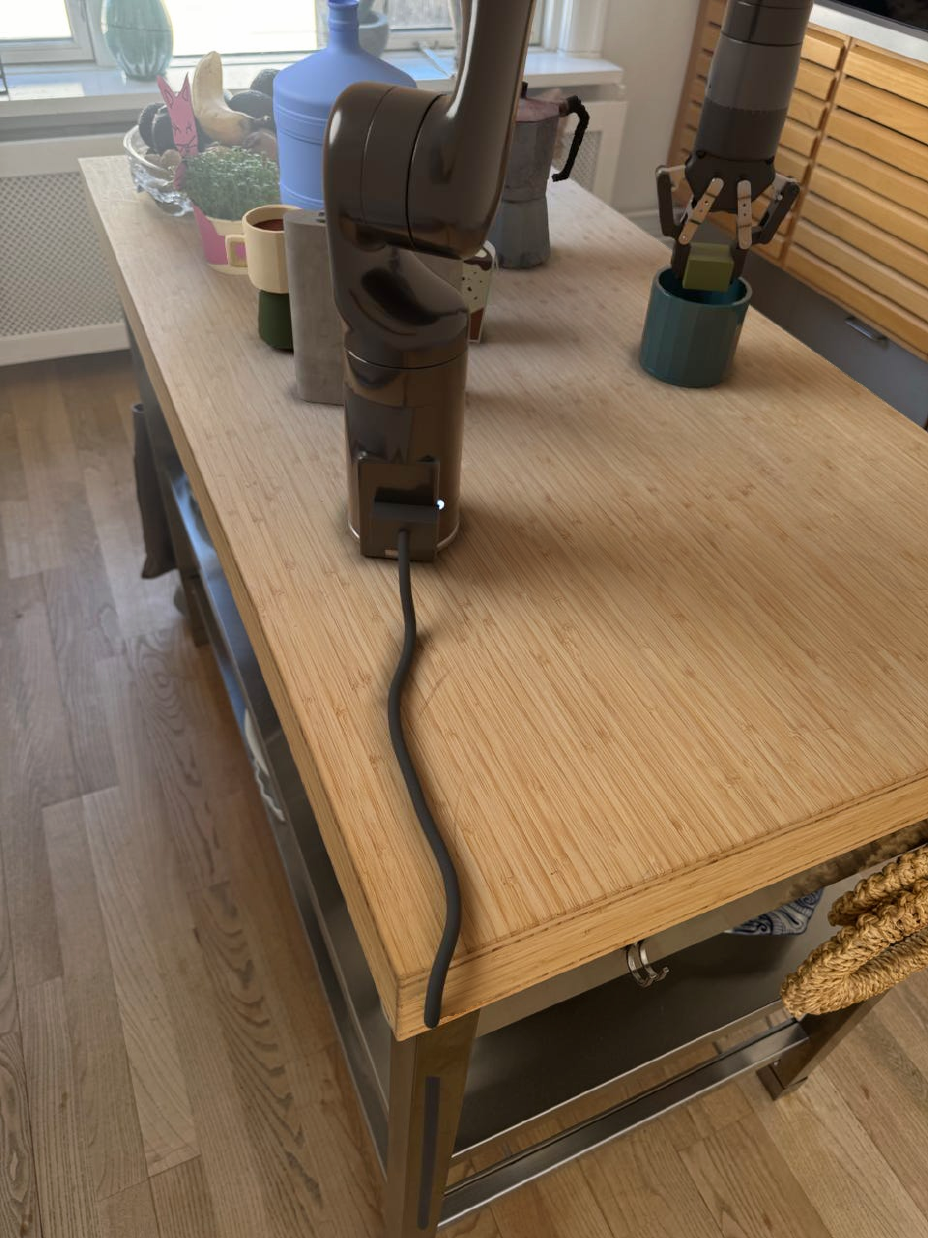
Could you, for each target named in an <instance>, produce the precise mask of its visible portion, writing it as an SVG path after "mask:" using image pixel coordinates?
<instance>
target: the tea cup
mask: <svg viewBox="0 0 928 1238" xmlns="http://www.w3.org/2000/svg"><path fill="white" fill-rule="evenodd" d="M752 296H753V289H752V287H751V284H750V283H749V282H748V281H747V280H746V279H745V278H744V277H742V276H740V277H739V279H734V281H733V284H729V286H728V290H727V292H720V291H707V290H695V289H684V288H683V284H682V280H676V277H675V274H672V269H671V264H670V265H667V266H663V267H662V268H660V269H659V270H657V271H656V273H655V274H654V276H653V278H652V283H651V288H650V293H649V298H648V301H647V302H648V303H647V307H646V313H645V317H644V322H643V328H642V332H641V337H640V343H639V347H638V354H637V360H638V364H639V366H640V367H641V369H642V370H643V371H644V372H646V374H648V375H649V376H651V377H653V378H654V379H656V380H658V381H661V382H663V383H667V384H670V385H673V386H678V387H684V388H707V387H712V386H715V385H719V384H720V383H723V382H725V380H726V379H727V378H728V377H729V376H730V373H731V369H732V367H733V364H734V361H735V356H736V354H737V353H736V352H737V349H738V347H739V346H738V345H739V342H740V338H741V335H742V331H743V328H744V323H745V320H746V317H747V313H748V311H749V307H750V303H751V300H752Z"/></svg>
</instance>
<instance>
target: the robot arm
mask: <svg viewBox="0 0 928 1238" xmlns="http://www.w3.org/2000/svg"><path fill="white" fill-rule="evenodd" d="M537 1H538V0H459V7H460V16H461V19H460V20H461V39H460V40H461V41H460V53H459V63H458V68H457V69H458V70H457V74H456V80H455V85H454V88H453V91H452V94H448V93H444V92H438V91H433V90H427V89H420V88H417V89H416V88H411V87H405V86H399V85H393V84H388V83H382V82H374V81H359V82H355V83H353V84H351V85H349V86H348V87H346V88H345V89H344V90H343V91H342V92H341V93H340V94H339V96H338V97H337V99H336V101H335V103H334V104H333V106H332V109H331V111H330V114H329V117H328V121H327V124H326V128H325V133H324V141H323V150H322V193H323V206H324V216H325V225H326V234H327V243H328V252H329V262H330V273H331V287H332V296H333V302H334V306H335V309H336V312H337V315H338V317H339V319H340V324H341V345H342V369H343V397H344V405H343V416H344V417H343V420H344V421H343V422H344V441H345V442H344V443H345V445H344V446H345V463H346V464H345V467H346V488H347V507H348V510H347V528H348V532H349V534H350V536H351V538H352V539H353V541H354V542H355V543H357V545H359V546H358V547H359V555H360V556H364V557H375V558H387V559H396V560H397V566H398V567H397V568H398V570H397V571H398V584H399V585H398V587H399V596H400V603H401V609H402V615H403V621H404V622H403V623H404V640H403V647H402V652H401V655H400V658H399V662H398V665H397V666H396V670H395V672H394V674H393V676H392V677H393V678H392V680H391V683H390V686H389V689H388V695H387V722H388V723H387V724H388V730H389V735H390V740H391V744H392V747H393V751H394V754H395V757H396V760H397V762H398V766H399V768H400V771H401V774H402V777H403V780H404V782H405V786H406V788H407V791H408V795H409V798H410V801H411V804H412V807H413V810H414V812H415V815H416V818H417V821H418V822H419V825H420V827H421V829H422V831H423V833H424V836H425V838H426V840H427V842H428V844H429V846H430V848H431V850H432V853H433V855H434V858H435V860H436V863H437V865H438V868H439V871H440V875H441V879H442V882H443V886H444V887H443V888H444V893H445V904H446V913H445V924H444V928H443V933H442V937H441V939H440V943H439V946H438V949H437V952H436V955H435V958H434V960H433V963H432V967H431V969H430V974H429V978H428V982H427V987H426V993H425V1000H424V1008H423V1009H424V1010H423V1024H424V1025H425V1026H426V1028H427V1029H431V1030H435V1028H437V1027H438V1026H439V1023H440V1021H441V1011H442V1002H443V994H444V988H445V983H446V979H447V976H448V972H449V969H450V966H451V962H452V960H453V956H454V953H455V950H456V948H457V944H458V941H459V940H458V939H459V936H460V931H461V925H462V915H463V906H462V905H463V903H462V896H461V895H462V894H461V887H460V883H459V877H458V875H457V871H456V867H455V865H454V862H453V858H452V857H451V854H450V852H449V849H448V847H447V845H446V843H445V841H444V839H443V837H442V834H441V833H440V830H439V829H438V826H437V824H436V822H435V820H434V818H433V816H432V814H431V811H430V809H429V805H428V803H427V799H426V797H425V794H424V791H423V788H422V785H421V783H420V780H419V777H418V774H417V771H416V768H415V766H414V763H413V760H412V757H411V755H410V752H409V749H408V745H407V743H406V738H405V735H404V734H405V733H404V730H403V723H402V716H401V698H402V693H403V687H404V684H405V681H406V679H407V676H408V674H409V671H410V668H411V666H412V662H413V658H414V655H415V651H416V645H417V644H416V643H417V618H416V611H415V605H414V600H413V592H412V578H411V561H420V562H421V561H422V562H435V561H436V559H437V558H436V557H437V554H438V553H439V552H441V551H443V550H444V549H446V548H447V547H448V546H449V545H450V544H452V542H453V541H454V540H455V539H456V537H457V535H458V533H459V529H460V512H459V511H460V496H461V495H460V493H461V477H462V476H461V475H462V460H463V445H464V430H465V429H464V427H465V413H466V411H465V410H466V397H467V396H466V395H467V379H468V370H469V369H468V368H469V350H470V342H469V337H470V308H469V305H468V302H467V300H466V298H465V297H464V296H463V294H462V293H461V292H460V291H459V290H458V289H457V288H456V287H455V286H454V285H452V284H451V283H450V282H448V281H447V280H445V279H444V278H443V277H441V276H440V275H438V274H437V273H435V272H434V271H433V270H432V269H430V268H429V267H428V266H427V265H426V264H424V263H423V262H422V261H421V260H420V259H419V258H418V256H417V255H416V254H415V253H414V252H418V253H423V254H427V255H432V256H437V257H442V258H447V259H451V260H460V261H463V260H468V259H470V258H472V257H473V256H475V255H476V254H477V253H478V252H479V251H480V250H481V249H482V247H483V246H484V244H485V242H486V240H487V238H488V236H489V234H490V232H491V230H492V227H493V224H494V222H495V219H496V215H497V212H498V209H499V205H500V201H501V197H502V193H503V189H504V184H505V179H506V174H507V168H508V163H509V157H510V152H511V146H512V140H513V134H514V128H515V122H516V116H517V110H518V104H519V98H520V92H521V86H522V81H523V80H524V74H525V68H526V60H527V56H528V50H529V43H530V39H531V32H532V27H533V22H534V18H535V12H536V7H537ZM814 3H815V0H726V6H725V9H724V15H723V18H722V19H723V20H722V24H721V30H720V33H719V34H720V35H719V37H718V41H717V44H716V46H715V49H714V53H713V56H712V59H711V63H710V66H709V70H708V74H707V76H706V81H705V91H704V96H703V100H702V105H701V110H700V114H699V119H698V124H697V128H696V133H695V137H694V138H695V139H694V143H693V146H692V147H693V148H692V150H691V153H690V154H689V156H688V157H687V158H686V159H685V161H684V164H681V165H676V166H672V167H668V166H667V165H666V164H665V165H664V164H660V165H658V166H657V167H656V168H655V171H654V173H655V184H656V195H657V204H658V214H659V216H658V217H659V224H660V228H661V229H660V230H661V234H662V235H663V236H664V237H670V238H672V239H674V243H673V248H672V251H671V252H672V253H671V256H670V262H669V264H670V265H671V269H672V274H675V277H676V280H683V278H684V274H685V269H686V265H687V261H688V256H689V254H690V250H691V243H690V242H692V239H693V237H694V236H695V233H696V232H697V230H698V228H699V226H700V225H702V224H703V222H704V220H705V218H706V217H707V215H708V213H718V212H724V213H726V214H730V215H734V227H735V231H734V232H735V237H734V240H731V243H730V245H729V249H730V252H731V255H732V258H733V261H734V267H733V271H732V274H731V278H730V282H729V284H733V281H734V279H739V277H742V274H743V270H744V267H745V262H746V259H747V255H748V251H749V250H750V248H751V247H753V246H756V245H759V244H761V245H762V246H765V245H768V244H770V243H771V241H772V240H773V238H774V236H775V235H776V233H777V231H778V229H780V226H781V225H782V223H783V221H784V219H785V218H786V217H787V215H788V213H789V212H790V209H791V208H792V206H793V205H794V203H795V201H796V199H797V197H798V196H799V195H800V192H801V187H800V185H799V182H798V181H797V179H796V177H795V176H793V175H786V176H785V175H783V174H781V173H778V172H776V171H777V170H776V167H775V159H776V156H777V152H778V148H779V146H780V145H779V144H780V141H781V137H782V134H783V130H784V127H785V122H786V119H787V114H788V112H789V108H790V103H791V100H792V97H793V93H794V90H795V86H796V82H797V78H798V74H799V70H800V66H801V65H800V63H801V58H802V57H801V56H802V50H803V46H804V40H805V37H806V33H807V30H808V26H809V22H810V19H811V15H812V11H813V7H814ZM684 179H686V182H687V184H688V186H689V188H690V190H691V192H692V195H691V197H690V199H689V201H688V203H687V204H686V207H685V211H684V213H683V214H682V217H681V218H680V220H677V219H675V217H674V207H673V194H674V193H676V192H678V190H679V189H680V183H681V181H682V180H684ZM770 186H771V189H770V196H771V200H770V201H769V204H768V205H767V207H766V209H765V210H764V212H763V214H762V215H761V217H760V219H759V221H758V223H757V224H756V225H754V226H752V224H753V219H752V217H753V215H752V204H753V203H754V202H755V201H756V200H757V199H758V198H759V197H760V196H761V195H762V194H764V193H765V191H766V190H768V188H770ZM440 1096H441V1077H440V1076H431V1075H424V1100H423V1102H424V1103H423V1106H424V1107H423V1132H422V1148H421V1149H422V1151H421V1167H420V1178H419V1190H418V1203H417V1204H418V1205H417V1216H416V1217H417V1219H416V1227H417V1228H418V1229H419V1230H422V1231H425V1230H427V1229H428V1227H429V1223H430V1212H431V1204H432V1202H431V1201H432V1193H433V1186H434V1177H435V1170H436V1169H435V1168H436V1160H437V1159H436V1157H437V1145H438V1133H439V1119H440V1118H439V1116H440V1098H441V1097H440Z"/></svg>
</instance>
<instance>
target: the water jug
mask: <svg viewBox="0 0 928 1238" xmlns="http://www.w3.org/2000/svg"><path fill="white" fill-rule="evenodd" d="M326 4H327V7H328V13H329V15H328V16H329V17H328V18H327V26H328V33H329V34H328V35H329V36H328V37H329V38H328V39H329V40H328V44H327V45H326V47H324V48H322V49H320V50H319V51H316V52H314V53H312V54H311V55H308V56H306V57H304V58H303V59H299V61H296V62H294V63H293V64H290V65H289V66H286V67H284V68H283V69H281V70H279V71H278V72H277V73H276V74H275V76H274V78H273V80H272V90H273V91H272V92H273V95H272V109H273V119H274V125H275V130H276V138H277V139H276V141H277V153H278V154H277V155H278V167H279V194H280V195H279V196H280V201H281V203H282V204H281V205H290V206H296V207H299V208H302V209H307V210H316V211H319V210H324V206H323V193H322V150H323V141H324V133H325V128H326V124H327V121H328V117H329V114H330V111H331V109H332V106H333V104H334V103H335V101H336V99H337V97H338V96H339V94H340V93H341V92H342V91H343V90H344V89H345V88H346V87H348V86H349V85H351V84H353V83H355V82H359V81H374V82H382V83H388V84H393V85H399V86H405V87H411V88H416V89H418V85H417V83H416V80H415V79H414V78H413V77H412V76H411V75H410V74H409V73H408V72H405V71H404V70H402V69H400V68H398V67H396V66H395V65H393V64H391V63H389V62H388V61H386V60H385V59H382V58H380V57H378V56H377V55H375V54H374V53H371V52H369V50H366V49H364V47H362V45H361V43H360V33H359V32H360V31H359V29H360V19H359V17H358V8H359V6H360V1H358V0H326Z"/></svg>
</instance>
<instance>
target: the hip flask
mask: <svg viewBox="0 0 928 1238" xmlns="http://www.w3.org/2000/svg"><path fill="white" fill-rule="evenodd" d="M283 223H284V236H285V248H286V260H287V272H288V285H289V297H290V309H291V321H292V334H293V346H294V348H293V356H294V357H293V358H294V369H295V379H296V380H295V381H296V392H297V396H298V398H299V399H301V400H303V401H306V402H311V403H318V404H319V403H320V404H328V405H339V406H340V405H341V406H344V397H343V369H342V345H341V324H340V319H339V317H338V315H337V312H336V309H335V306H334V302H333V296H332V287H331V273H330V262H329V252H328V243H327V234H326V225H325V216H324V210H319V211H316V210H307V209H295V210H290V211H288V212H286V213H285V214H284V215H283ZM414 253H415V254H416V255H417V256H418V258H419V259H420V260H421V261H422V262H423V263H424V264H426V265H427V266H428V267H429V268H430V269H432V270H433V271H434V272H435V273H437V274H438V275H440V276H441V277H443V278H444V279H445V280H447V281H448V282H450V283H451V284H452V285H454V286H455V287H456V288H457V289H458V290H459V291H460V292H461V293H462V276H463V261H460V260H451V259H447V258H442V257H437V256H432V255H427V254H423V253H418V252H414Z"/></svg>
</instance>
